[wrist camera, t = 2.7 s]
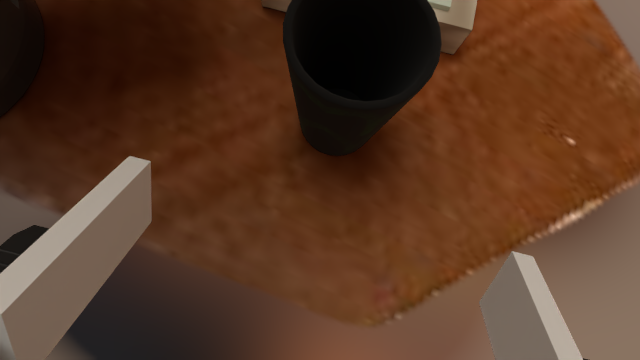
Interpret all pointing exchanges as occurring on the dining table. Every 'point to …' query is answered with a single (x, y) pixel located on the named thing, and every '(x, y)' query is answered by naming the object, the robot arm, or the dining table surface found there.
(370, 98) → the cup
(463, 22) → the stand
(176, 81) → the dining table surface
